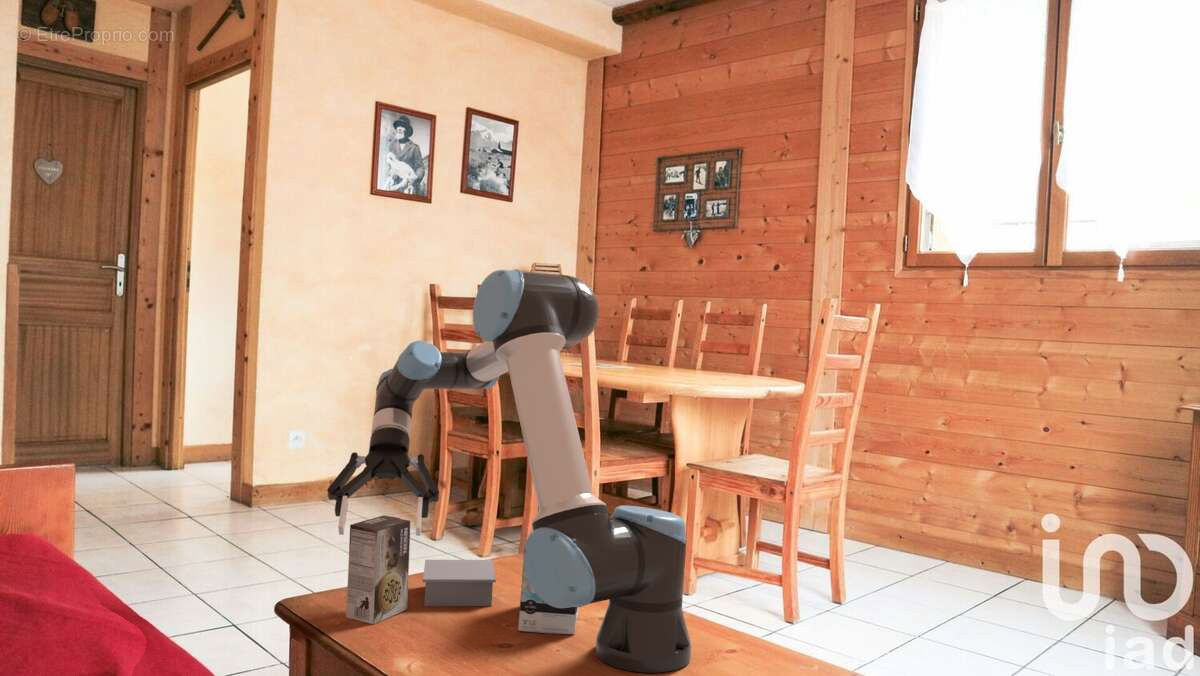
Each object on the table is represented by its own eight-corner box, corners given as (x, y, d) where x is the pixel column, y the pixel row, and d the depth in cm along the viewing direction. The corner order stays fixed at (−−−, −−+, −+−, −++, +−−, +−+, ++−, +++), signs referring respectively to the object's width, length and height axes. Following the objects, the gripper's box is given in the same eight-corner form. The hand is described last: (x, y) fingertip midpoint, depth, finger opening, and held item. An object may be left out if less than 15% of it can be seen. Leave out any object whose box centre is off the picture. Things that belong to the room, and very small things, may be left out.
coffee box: (379, 603, 155) (383, 514, 155) (408, 610, 153) (412, 519, 152) (343, 617, 147) (348, 523, 147) (373, 625, 144) (378, 529, 144)
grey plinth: (494, 606, 157) (495, 579, 157) (421, 607, 155) (422, 579, 154) (491, 585, 170) (492, 560, 169) (424, 585, 167) (425, 559, 167)
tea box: (576, 636, 144) (581, 548, 144) (517, 632, 144) (521, 544, 144) (580, 607, 159) (584, 527, 159) (525, 604, 159) (530, 524, 159)
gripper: (453, 450, 175) (449, 542, 160) (326, 446, 171) (309, 541, 156) (455, 427, 170) (450, 520, 155) (323, 423, 166) (306, 518, 151)
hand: (379, 531), depth 156 cm, fingers open, 13 cm apart
